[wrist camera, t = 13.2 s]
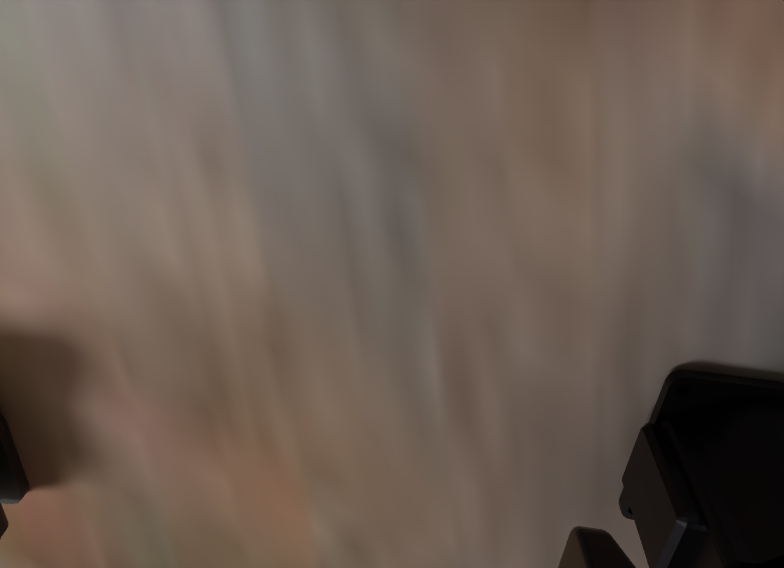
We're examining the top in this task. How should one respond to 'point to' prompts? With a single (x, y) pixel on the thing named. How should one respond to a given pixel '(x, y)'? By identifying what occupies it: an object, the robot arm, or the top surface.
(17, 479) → the end cap
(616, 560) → the robot arm
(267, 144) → the top surface
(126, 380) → the top surface
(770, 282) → the top surface
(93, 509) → the top surface
